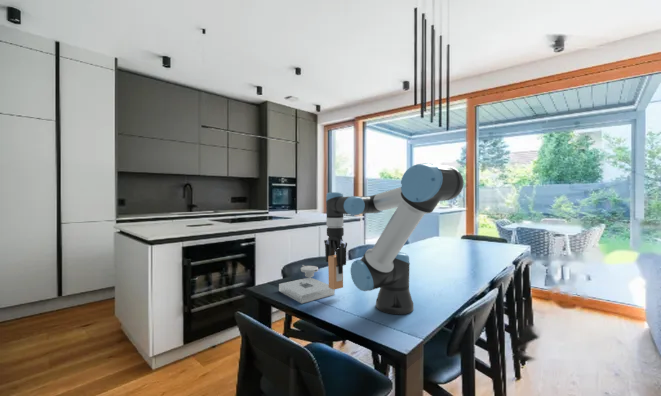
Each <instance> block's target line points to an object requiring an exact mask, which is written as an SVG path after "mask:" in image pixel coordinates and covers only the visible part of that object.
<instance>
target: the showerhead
mask: <svg viewBox="0 0 661 396" xmlns="http://www.w3.org/2000/svg"><path fill="white" fill-rule="evenodd" d="M318 271H319V267H318V266H316V265H304V264H302V265H301V267H300V272H301V273H304V277H305V278H309V277H311V278H313V277H314V276H315V273H317V272H318Z"/></svg>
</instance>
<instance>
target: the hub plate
mask: <svg viewBox="0 0 661 396" xmlns="http://www.w3.org/2000/svg"><path fill="white" fill-rule="evenodd" d="M335 290H336V289H335ZM335 290H334V289H331V288H329V283H326V282H323V281H320V280H319V279H315V278H313V277H309V278H307V277H305V278H299V279H295V280H292V281H287V282H282V283H279V284H278V291H279V292H280V293H282V294H283V295H285V296H287V297H288V298H290V299H293V300H294V301H297V303H300V304H301V305H302V304H305V303H309V302H313V301H316V300H320V299H325V298H327V297H331V296H334V295H336V293H335Z"/></svg>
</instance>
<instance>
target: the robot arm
mask: <svg viewBox="0 0 661 396" xmlns="http://www.w3.org/2000/svg"><path fill="white" fill-rule="evenodd" d="M400 185H401V186H400V187H399V186H398V187H396V188H393V189H390V190H387V191H383V192H380V193H376V194H374V195H369V196H368V195H366V196H365V195H364V196H363V195H362V196H361V195H360V196H357V195H356V196H354V195H351V196H344V193H343V192H342V191H341V192H339V191H336V192H333V191H332V192H327V193H326V199H325V207H326V236H327V237H328V238H327V239H325V240H324V241H323V243H324V249H325V250H324V251H325V262H326V263H328V256H332V255H336V259H337V265H336V281H337V282H338V281H342V273H343V274H344V266H346V265H347V246H348V243H347V242H344V240H343V236H344V231H345V230H344V227H343V226H344V215H351V216H358V215H359V216H360V215H363V214H379V213H382V212H383V211H388V210H391V209H395V210H394V213H393V214H392V215H391V218H390V219H389V221H388V223H387V224H386V226H385V227H384V229H383V231H382V232H381V234H380V235H379V237H378V239H377V241H376V242H375V244H374V246H373V247H372V248H368V249H367V250H366V251H365V252H364V254H363V256H362V257H361V258H360V259H356V260H355V261H353V262H352V263H351V266H350V275H351V277H350V278H351V279H352V282H353V284H354V285H355V287H356V288H357V289H358V290H359V291H362V292H369V291H371V292H372V291H373V290H376V289H379V291H378V293H377V297H376V301H375V308H376V309H377V310H378V311H381V312H383V313H386V314H389V315H390V314H391V315H406V314H411V313H412V312H413V311H414V302H413V301H414V300H413V299H412V295H411V294H412V293H411V292H410V265H411V263H410V256H409V254H408V253H405V252H402V251H401V250H402V248H403V247H404V246H405V244H406V243H407V241H408V239H409V238H410V237H411V235H412V234H413V233H414V231H415V229H416V228H417V227H418V224H420V222H421V220H422V219H423V218H424V216H425V215H426V214H431V213H432V212H434V210H435V208H436V207H437V206H438V204H439V203H440V202H443V201H444V202H445V201H446V202H447V201H451V200H454V199H455V198H457V197H458V196H459V195H460V194H461V193H462V191H463V188H464V178H463V175H462V173H461V172H460V171H459V170H458V169H457V168H456V167H454V166H450V165H446V164H445V165H443V164H433V163H428V162H427V163H426V162H425V163H416V164H413V165H412V166H410V167H408V168H407V169H406V170H405V172H404V173H403V175H402V176H401V180H400Z"/></svg>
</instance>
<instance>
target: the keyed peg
mask: <svg viewBox="0 0 661 396" xmlns="http://www.w3.org/2000/svg"><path fill="white" fill-rule="evenodd" d="M327 263H328V264H327V265H328V285H329V288H331V289H334V290H339V289H342V288H344V272H343V273H342V281H338V282H337V281H336V265H337V259H336V254H335V255H332V256H328V262H327Z"/></svg>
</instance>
